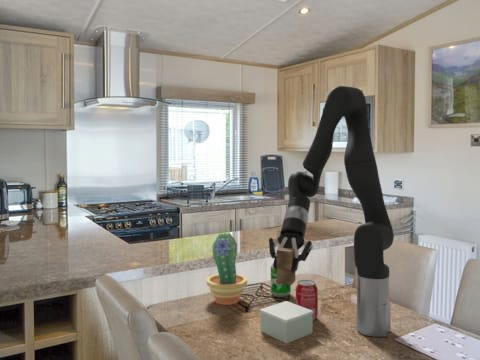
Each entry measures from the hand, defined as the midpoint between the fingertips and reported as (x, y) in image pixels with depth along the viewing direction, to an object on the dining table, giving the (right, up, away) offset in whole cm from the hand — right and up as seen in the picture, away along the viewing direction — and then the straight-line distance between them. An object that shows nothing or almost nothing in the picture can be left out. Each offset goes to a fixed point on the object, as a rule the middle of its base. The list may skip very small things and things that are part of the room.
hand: (284, 270), depth 127 cm
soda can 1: (+2, -17, +37) cm, 41 cm away
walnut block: (+1, -4, +2) cm, 5 cm away
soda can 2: (+9, -19, +13) cm, 25 cm away
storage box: (+1, -20, +3) cm, 20 cm away
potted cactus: (-18, -18, +31) cm, 40 cm away
